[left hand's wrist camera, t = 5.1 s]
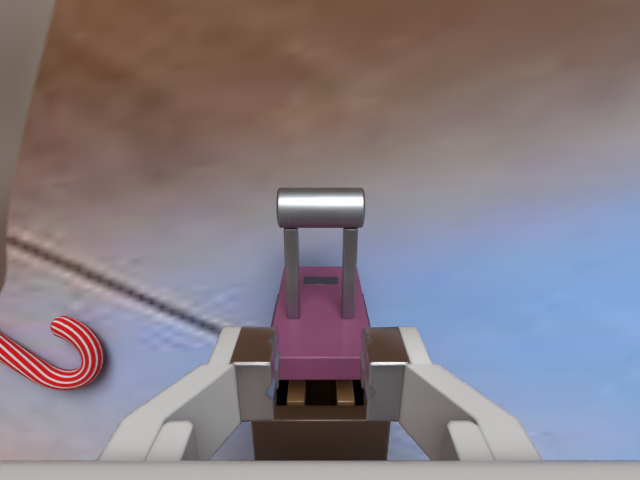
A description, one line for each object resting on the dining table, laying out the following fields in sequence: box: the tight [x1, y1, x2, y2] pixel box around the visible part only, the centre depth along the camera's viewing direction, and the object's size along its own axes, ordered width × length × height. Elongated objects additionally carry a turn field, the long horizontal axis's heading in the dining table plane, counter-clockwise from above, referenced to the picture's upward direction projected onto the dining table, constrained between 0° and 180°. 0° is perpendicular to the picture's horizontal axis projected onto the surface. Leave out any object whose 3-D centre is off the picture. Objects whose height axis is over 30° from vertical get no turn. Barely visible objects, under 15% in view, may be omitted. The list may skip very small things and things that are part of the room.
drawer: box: [272, 188, 370, 405], centre depth 21 cm, size 22×4×8 cm, turn 0°
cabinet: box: [251, 294, 390, 461], centre depth 23 cm, size 17×6×10 cm, turn 0°
